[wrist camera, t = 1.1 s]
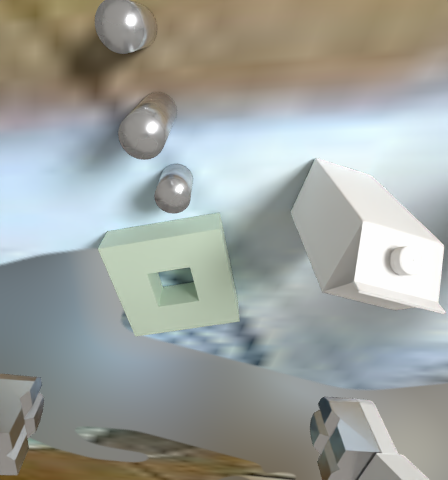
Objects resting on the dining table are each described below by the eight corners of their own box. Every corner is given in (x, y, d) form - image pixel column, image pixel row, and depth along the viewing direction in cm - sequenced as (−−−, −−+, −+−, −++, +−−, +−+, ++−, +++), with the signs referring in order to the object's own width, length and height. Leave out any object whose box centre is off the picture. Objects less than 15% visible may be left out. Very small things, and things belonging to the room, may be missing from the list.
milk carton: (342, 227, 44) (417, 346, 27) (289, 212, 42) (335, 327, 26) (371, 174, 40) (477, 275, 24) (314, 156, 39) (385, 249, 23)
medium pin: (150, -2, 31) (135, -8, 25) (161, 44, 33) (149, 48, 27) (111, 7, 32) (87, 2, 26) (124, 52, 33) (104, 57, 27)
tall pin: (172, 88, 35) (158, 108, 27) (180, 125, 37) (170, 155, 28) (136, 95, 35) (111, 117, 27) (147, 131, 37) (126, 163, 29)
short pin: (189, 161, 39) (185, 177, 35) (196, 190, 41) (193, 210, 37) (157, 166, 39) (150, 183, 35) (165, 196, 41) (159, 215, 37)
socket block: (219, 212, 42) (220, 228, 39) (237, 300, 49) (239, 321, 46) (107, 231, 43) (97, 248, 40) (140, 315, 50) (135, 336, 47)
